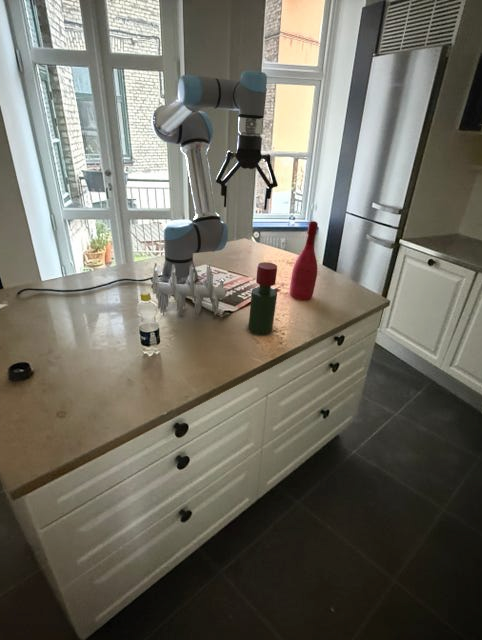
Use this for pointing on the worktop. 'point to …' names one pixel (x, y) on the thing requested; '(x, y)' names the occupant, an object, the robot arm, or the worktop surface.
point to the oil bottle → (262, 310)
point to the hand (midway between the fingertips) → (244, 207)
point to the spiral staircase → (187, 291)
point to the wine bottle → (305, 268)
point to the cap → (266, 274)
